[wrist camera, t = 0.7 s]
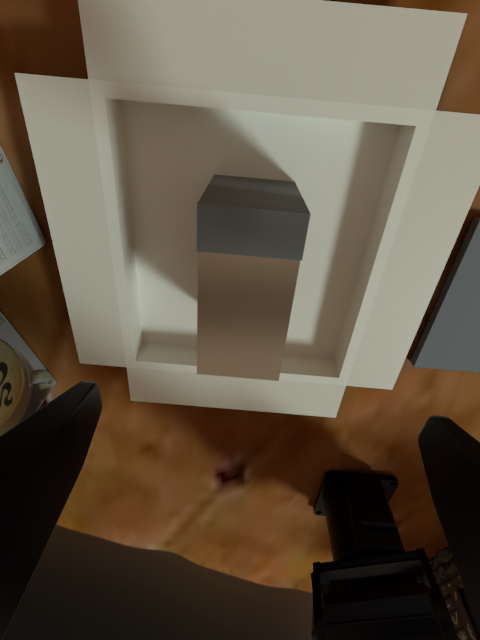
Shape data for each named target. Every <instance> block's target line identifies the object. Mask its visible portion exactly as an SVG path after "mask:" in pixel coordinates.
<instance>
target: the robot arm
mask: <svg viewBox="0 0 480 640" xmlns="http://www.w3.org/2000/svg"><path fill="white" fill-rule="evenodd" d="M101 410H102V401H101V395H100V389H99V385H98V383H96V382H90V381H81V382H79V383H78V384H76V385H75V386H73V387H72V388H70V389H69V390H67V391H66V392H64V393H63V394H61V395H60V396H58V397H57V398H56V399H54V400H53V401H51V402H50V403H48V404H47V405H45V406H44V407H42V408H41V409H39V410H38V411H36V412H35V413H33V414H32V415H31V416H29V417H28V418H26V419H25V420H23V421H22V422H20V423H19V424H17V425H16V426H14V427H13V428H11V429H10V430H8V431H7V432H5V433H4V434H3V435H1V436H0V640H2V639H3V637H4V635H5V633H6V631H7V628H8V626H9V624H10V622H11V620H12V618H13V616H14V614H15V611H16V609H17V607H18V605H19V603H20V601H21V598H22V596H23V594H24V592H25V590H26V588H27V586H28V583H29V581H30V579H31V577H32V574H33V572H34V570H35V568H36V566H37V564H38V562H39V560H40V558H41V555H42V553H43V551H44V549H45V546H46V545H47V542H48V540H49V538H50V536H51V534H52V532H53V529H54V527H55V525H56V523H57V521H58V519H59V517H60V514H61V512H62V510H63V508H64V506H65V504H66V502H67V499H68V497H69V495H70V493H71V491H72V489H73V486H74V484H75V482H76V480H77V478H78V476H79V473H80V471H81V469H82V466H83V464H84V461H85V458H86V456H87V453H88V450H89V447H90V444H91V441H92V438H93V435H94V432H95V429H96V426H97V423H98V420H99V417H100V414H101ZM418 443H419V448H420V452H421V456H422V460H423V464H424V468H425V472H426V476H427V480H428V484H429V488H430V492H431V495H432V499H433V502H434V505H435V508H436V511H437V513H438V516H439V519H440V522H441V525H442V527H443V530H444V533H445V536H446V539H447V541H448V544H449V547H450V550H451V553H452V555H453V558H454V561H455V564H456V567H457V569H458V572H459V575H460V578H461V581H462V583H463V586H464V589H465V592H466V594H467V597H468V600H469V603H470V606H471V608H472V611H473V614H474V617H475V620H476V622H477V625H478V628H479V631H480V442H478V441H477V440H476V439H475V438H473V437H472V436H471V435H469V434H468V433H467V432H466V431H464V430H463V429H462V428H461V427H459V426H458V425H457V424H456V423H454V422H453V421H452V420H451V419H449V418H448V417H444V416H431V417H429V418H428V420H427V422H426V423H425V425H424V427H423V429H422V431H421V432H420V434H419V438H418ZM398 484H399V483H398V480H397V478H396V477H393V476H382V475H370V474H357V473H345V472H333V471H329V472H327V473H325V476H324V478H323V481H322V484H321V487H320V490H319V493H318V496H317V499H316V502H315V504H314V507H313V510H314V514H316V515H322V516H326V520H327V526H328V532H329V538H330V544H331V550H332V556H333V561H332V562H324V563H320V562H314V563H313V573H311V579H312V589H313V615H312V639H313V640H459V638H458V635H457V632H456V629H455V626H454V624H453V621H452V618H451V615H450V613H449V610H448V608H447V605H446V603H445V600H444V598H443V595H442V593H441V590H440V588H439V585H438V583H437V580H436V578H435V575H434V573H433V570H432V568H431V565H430V563H429V561H428V558H427V556H426V553H425V551H424V548H419V549H416V550H415V551H407V552H405V550H404V547H403V544H402V541H401V538H400V535H399V532H398V529H397V526H396V523H395V520H394V517H393V514H392V511H391V508H390V505H389V500H390V499H391V497H392V495H393V493H394V491H395V490H396V488H397V486H398Z"/></svg>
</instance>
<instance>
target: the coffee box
mask: <svg viewBox="0 0 480 640" xmlns="http://www.w3.org/2000/svg"><path fill="white" fill-rule="evenodd" d="M55 385H56V381H55V379H54V378H53V377H52V375H51V374H50V373H49V372H48V370H47V369H46V368H45V367H44V365H43V364H42V363H41V362H40V360H39V359H38V358H37V356H36V355H35V354H34V353H33V351H32V350H31V349H30V348H29V346H28V345H27V344H26V343H25V341H24V340H23V339H22V337H21V336H20V335H19V334H18V332H17V331H16V330H15V329H14V327H13V326H12V325H11V324H10V322H9V321H8V320H7V319H6V317H5V316H4V315H3V314H2V312H1V311H0V436H1V435H3V434H4V433H5V432H7V431H8V430H10V429H11V428H13V427H14V426H16V425H17V424H19V423H20V422H22V421H23V420H25V419H26V418H28V417H29V416H31V415H32V414H33V413H35V412H36V411H37V410H38V409H39V407H40V406H41V405H42V403H43V402H44V400H45V399H46V397H47V396H48V394H49V393H50V392H51V390H52V389H53V388H54V386H55Z"/></svg>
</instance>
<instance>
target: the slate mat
mask: <svg viewBox="0 0 480 640" xmlns="http://www.w3.org/2000/svg"><path fill="white" fill-rule="evenodd" d="M411 363H412V365H413V366H414V367H422V368H433V369H445V370H457V371H469V372H480V218H473V220H472V222H471V225H470V227H469V229H468V232H467V234H466V236H465V238H464V241H463V243H462V245H461V247H460V250H459V252H458V254H457V257H456V259H455V261H454V263H453V266H452V268H451V270H450V272H449V275H448V277H447V279H446V282H445V284H444V286H443V288H442V291H441V293H440V295H439V298H438V300H437V302H436V304H435V307H434V309H433V311H432V313H431V316H430V318H429V320H428V323H427V325H426V327H425V329H424V332H423V334H422V336H421V338H420V341H419V343H418V345H417V348H416V350H415V352H414V354H413V357H412V359H411Z"/></svg>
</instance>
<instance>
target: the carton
mask: <svg viewBox="0 0 480 640" xmlns="http://www.w3.org/2000/svg"><path fill="white" fill-rule="evenodd" d="M78 5H79V13H80V21H81V28H82V36H83V43H84V51H85V58H86V66H87V73H88V79H78V78H67V77H56V76H45V75H34V74H23V73H14V74H15V78H16V83H17V87H18V92H19V96H20V101H21V105H22V109H23V114H24V118H25V123H26V127H27V132H28V136H29V140H30V145H31V149H32V154H33V158H34V163H35V167H36V172H37V176H38V180H39V185H40V189H41V194H42V198H43V203H44V207H45V211H46V216H47V220H48V225H49V229H50V234H51V238H52V242H53V247H54V251H55V256H56V260H57V265H58V269H59V273H60V278H61V282H62V287H63V291H64V296H65V300H66V304H67V309H68V313H69V318H70V322H71V327H72V331H73V335H74V340H75V344H76V349H77V353H78V358H79V362H80V363H82V364H94V365H105V366H117V367H126V368H127V375H128V383H129V390H130V398H131V401H141V402H153V403H165V404H177V405H189V406H201V407H213V408H225V409H237V410H249V411H261V412H273V413H285V414H297V415H309V416H321V417H333V418H336V415H337V412H338V409H339V406H340V403H341V400H342V397H343V394H344V391H345V388H346V386H355V387H367V388H379V389H391V390H392V389H393V387H394V384H395V382H396V380H397V377H398V375H399V373H400V370H401V368H402V366H403V363H404V361H405V359H406V356H407V354H408V352H409V349H410V347H411V345H412V342H413V340H414V338H415V335H416V333H417V331H418V328H419V326H420V324H421V321H422V319H423V317H424V314H425V312H426V309H427V307H428V305H429V302H430V300H431V298H432V295H433V293H434V291H435V288H436V286H437V284H438V281H439V279H440V277H441V274H442V272H443V270H444V267H445V265H446V263H447V260H448V258H449V256H450V253H451V251H452V249H453V246H454V244H455V242H456V239H457V237H458V235H459V232H460V230H461V228H462V225H463V223H464V221H465V218H466V216H467V214H468V211H469V209H470V207H471V204H472V202H473V200H474V197H475V195H476V193H477V190H478V188H479V186H480V115H479V114H468V113H456V112H445V111H436V109H437V106H438V103H439V100H440V97H441V94H442V91H443V87H444V84H445V81H446V78H447V75H448V72H449V69H450V66H451V63H452V60H453V57H454V54H455V51H456V48H457V45H458V42H459V38H460V35H461V32H462V29H463V26H464V23H465V20H466V17H467V14H466V13H455V12H444V11H433V10H422V9H411V8H400V7H390V6H379V5H368V4H357V3H346V2H335V1H324V0H78ZM214 174H215V175H226V176H238V177H249V178H260V179H272V180H283V181H294V182H295V183H296V185H297V187H298V189H299V191H300V193H301V195H302V197H303V199H304V201H305V203H306V205H307V208H308V210H309V212H310V220H309V225H308V231H307V236H306V241H305V247H304V252H303V258H302V260H300V266H299V271H298V277H297V282H296V288H295V293H294V299H293V304H292V310H291V315H290V321H289V326H288V332H287V337H286V343H285V348H284V354H283V359H282V365H281V370H280V376H279V381H274V380H262V379H250V378H238V377H226V376H214V375H202V374H197V300H198V251H197V203H198V201H199V200H200V198H201V196H202V194H203V193H204V191H205V189H206V188H207V186H208V184H209V183H210V181H211V179H212V177H213V176H214Z"/></svg>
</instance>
